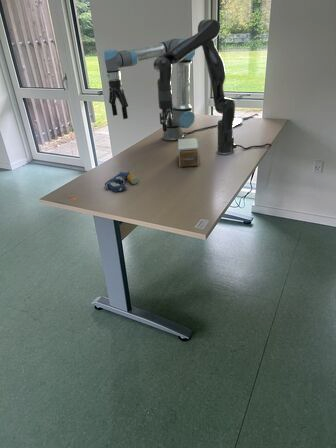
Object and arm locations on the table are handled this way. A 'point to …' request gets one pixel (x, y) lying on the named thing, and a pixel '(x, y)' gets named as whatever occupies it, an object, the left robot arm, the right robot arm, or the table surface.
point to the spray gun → (120, 181)
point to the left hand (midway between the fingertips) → (120, 117)
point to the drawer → (188, 157)
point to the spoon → (237, 121)
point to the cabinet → (187, 146)
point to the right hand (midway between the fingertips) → (167, 129)
